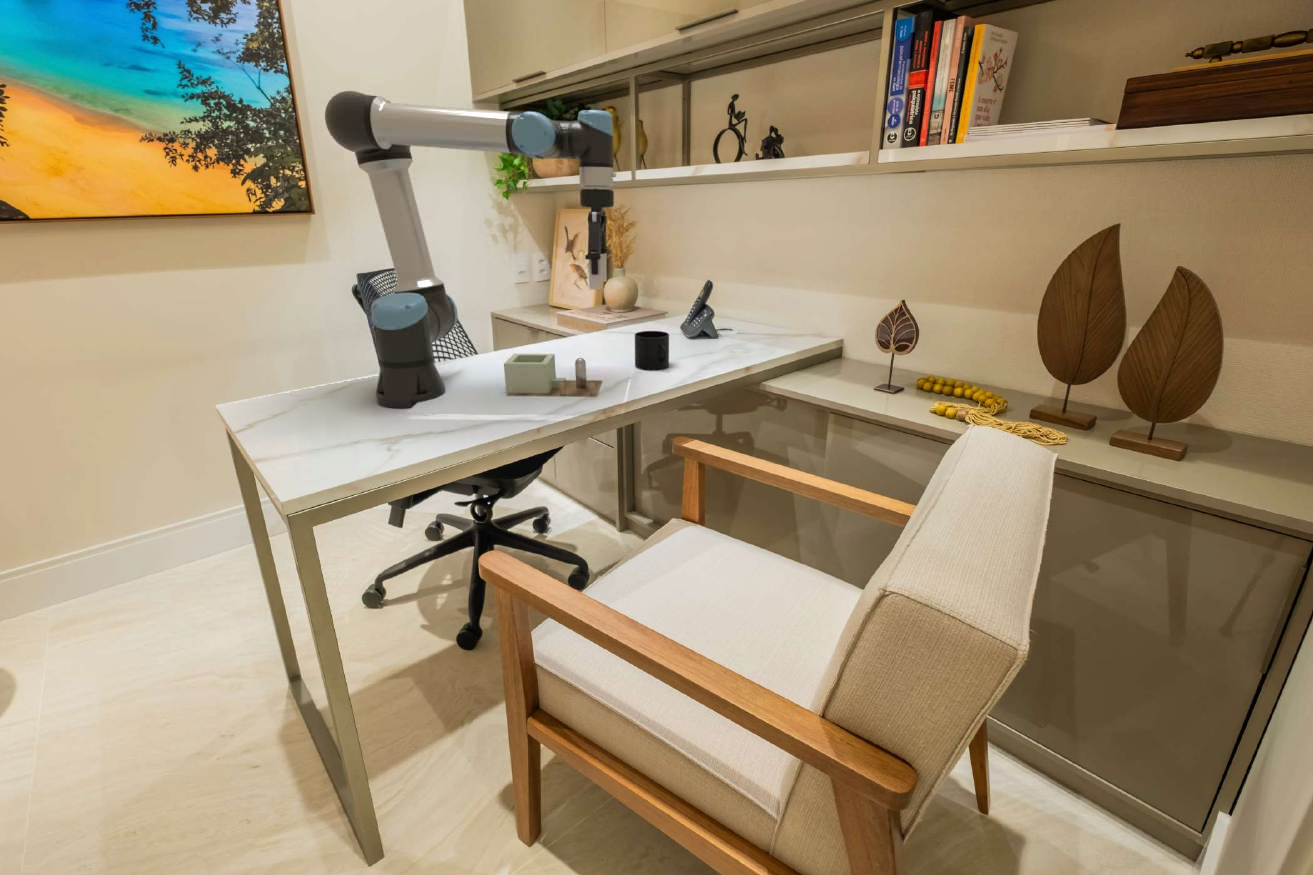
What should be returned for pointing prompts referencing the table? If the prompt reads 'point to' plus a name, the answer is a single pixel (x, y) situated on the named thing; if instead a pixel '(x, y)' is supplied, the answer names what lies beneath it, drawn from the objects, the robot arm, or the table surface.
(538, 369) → the sage green storage bin
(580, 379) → the post
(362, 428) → the table surface
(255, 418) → the table surface
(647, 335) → the mug
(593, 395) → the board
